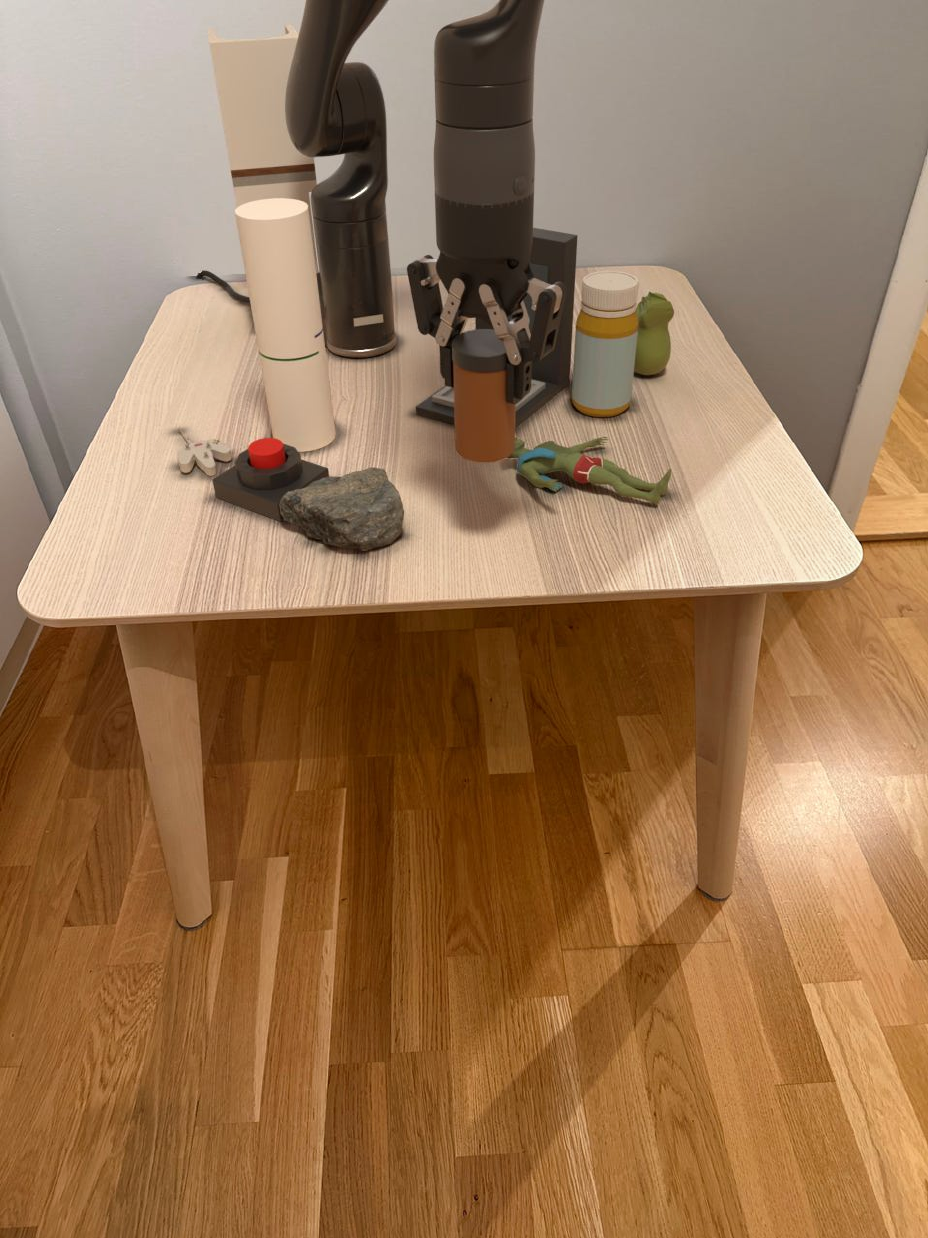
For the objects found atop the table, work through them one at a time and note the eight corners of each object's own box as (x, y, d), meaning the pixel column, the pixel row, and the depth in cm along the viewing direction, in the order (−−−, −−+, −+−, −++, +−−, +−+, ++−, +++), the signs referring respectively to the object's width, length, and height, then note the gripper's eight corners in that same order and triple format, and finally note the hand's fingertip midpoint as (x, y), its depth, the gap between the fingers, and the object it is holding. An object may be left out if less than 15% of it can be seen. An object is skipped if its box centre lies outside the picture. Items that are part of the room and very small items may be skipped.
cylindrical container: (345, 426, 109) (320, 200, 93) (319, 455, 104) (287, 222, 88) (291, 418, 111) (257, 195, 95) (262, 446, 106) (221, 216, 90)
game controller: (198, 483, 100) (193, 462, 98) (137, 451, 106) (131, 430, 104) (240, 462, 103) (236, 441, 102) (179, 431, 109) (174, 411, 108)
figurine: (647, 499, 87) (473, 454, 93) (640, 536, 89) (469, 491, 95) (686, 448, 100) (530, 412, 105) (679, 483, 102) (526, 445, 107)
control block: (215, 497, 98) (208, 464, 95) (267, 464, 103) (261, 431, 100) (280, 521, 94) (274, 487, 91) (330, 485, 99) (326, 452, 97)
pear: (653, 360, 121) (662, 283, 115) (676, 376, 118) (686, 298, 111) (616, 368, 120) (623, 291, 113) (638, 385, 116) (646, 306, 110)
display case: (332, 323, 133) (300, 37, 111) (257, 331, 132) (209, 42, 109) (323, 295, 142) (291, 24, 120) (252, 302, 140) (207, 29, 118)
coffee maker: (487, 363, 122) (487, 219, 110) (569, 383, 117) (577, 234, 105) (415, 414, 111) (406, 260, 100) (502, 438, 106) (503, 280, 95)
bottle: (628, 421, 109) (641, 293, 99) (568, 416, 110) (575, 289, 100) (632, 394, 114) (644, 270, 104) (574, 390, 115) (582, 267, 106)
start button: (243, 464, 96) (240, 449, 95) (266, 449, 98) (264, 434, 97) (269, 473, 94) (266, 458, 93) (293, 458, 96) (290, 443, 95)
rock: (413, 504, 96) (410, 461, 93) (400, 561, 88) (396, 516, 85) (294, 501, 97) (287, 458, 94) (271, 557, 89) (262, 513, 86)
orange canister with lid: (495, 469, 82) (496, 361, 75) (441, 452, 84) (438, 346, 77) (536, 434, 86) (540, 330, 80) (484, 419, 89) (484, 316, 82)
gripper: (592, 185, 69) (578, 394, 80) (433, 160, 76) (440, 357, 86) (544, 212, 65) (536, 430, 76) (377, 183, 71) (392, 389, 82)
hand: (484, 391), depth 81 cm, fingers closed on orange canister with lid, 5 cm apart
